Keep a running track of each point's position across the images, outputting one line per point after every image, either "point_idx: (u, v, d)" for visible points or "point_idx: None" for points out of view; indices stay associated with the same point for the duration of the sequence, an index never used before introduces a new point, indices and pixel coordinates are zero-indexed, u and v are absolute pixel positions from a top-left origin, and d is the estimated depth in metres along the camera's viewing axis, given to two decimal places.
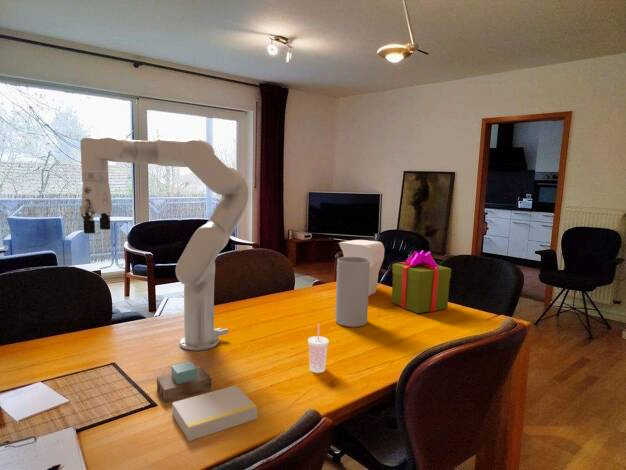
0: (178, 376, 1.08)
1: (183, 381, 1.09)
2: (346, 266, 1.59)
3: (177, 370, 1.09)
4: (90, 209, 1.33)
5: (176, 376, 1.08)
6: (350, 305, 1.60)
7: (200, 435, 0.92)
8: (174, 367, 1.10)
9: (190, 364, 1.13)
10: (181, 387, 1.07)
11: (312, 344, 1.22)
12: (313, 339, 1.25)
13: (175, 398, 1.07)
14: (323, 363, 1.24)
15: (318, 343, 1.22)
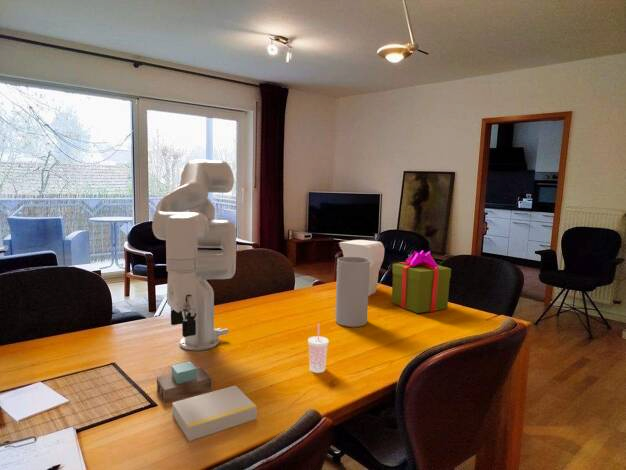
0: (178, 376, 1.08)
1: (183, 381, 1.09)
2: (346, 266, 1.59)
3: (177, 370, 1.09)
4: None
5: (176, 376, 1.08)
6: (350, 305, 1.60)
7: (200, 435, 0.92)
8: (174, 367, 1.10)
9: (190, 364, 1.13)
10: (181, 387, 1.07)
11: (312, 344, 1.22)
12: (313, 339, 1.25)
13: (175, 398, 1.07)
14: (323, 363, 1.24)
15: (318, 343, 1.22)
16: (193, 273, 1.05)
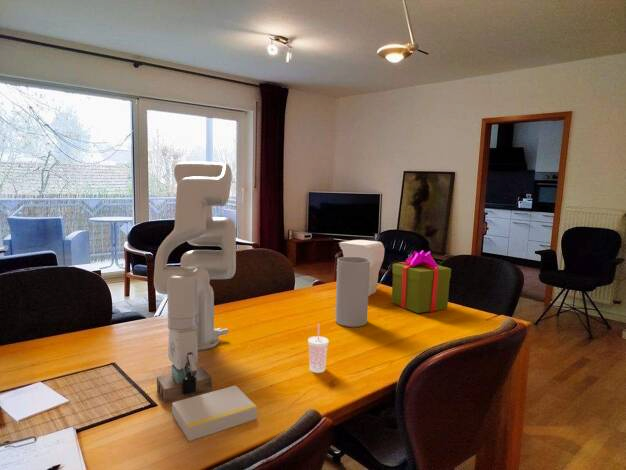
0: (178, 375, 1.07)
1: None
2: (346, 266, 1.59)
3: (177, 369, 1.09)
4: None
5: (176, 375, 1.08)
6: (350, 305, 1.60)
7: (200, 435, 0.92)
8: (174, 366, 1.10)
9: None
10: (181, 386, 1.07)
11: (312, 344, 1.22)
12: (313, 339, 1.25)
13: (175, 397, 1.06)
14: (323, 363, 1.24)
15: (318, 343, 1.22)
16: (194, 331, 1.07)
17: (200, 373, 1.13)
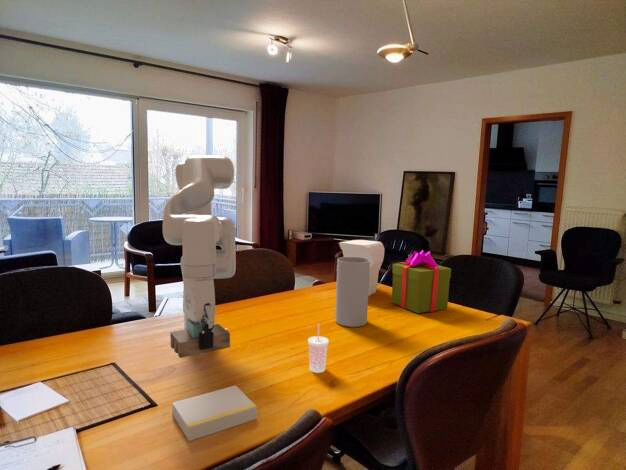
0: (194, 329, 0.99)
1: None
2: (346, 266, 1.59)
3: (193, 323, 1.00)
4: None
5: (192, 329, 0.99)
6: (350, 305, 1.60)
7: (200, 435, 0.92)
8: (189, 320, 1.01)
9: (206, 318, 1.04)
10: (197, 341, 0.98)
11: (312, 344, 1.22)
12: (313, 339, 1.25)
13: (191, 353, 0.98)
14: (323, 363, 1.24)
15: (318, 343, 1.22)
16: (212, 280, 0.98)
17: (217, 329, 1.04)
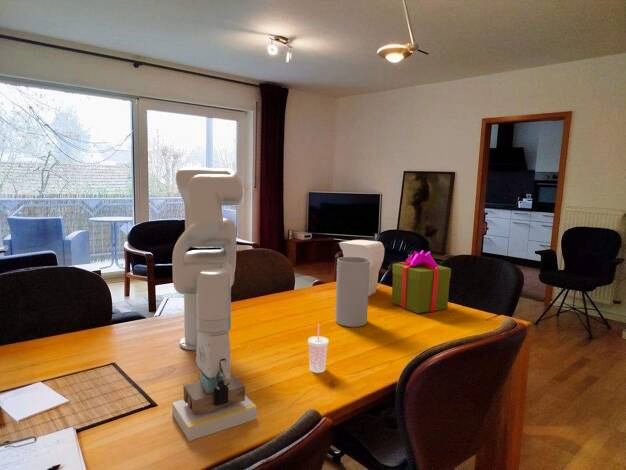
0: (209, 384, 0.95)
1: None
2: (346, 266, 1.59)
3: (207, 377, 0.96)
4: None
5: (206, 384, 0.96)
6: (350, 305, 1.60)
7: (200, 435, 0.92)
8: (203, 374, 0.98)
9: None
10: (212, 397, 0.95)
11: (312, 344, 1.22)
12: (313, 339, 1.25)
13: (205, 409, 0.94)
14: (323, 363, 1.24)
15: (318, 343, 1.22)
16: (227, 334, 0.94)
17: (231, 381, 1.01)
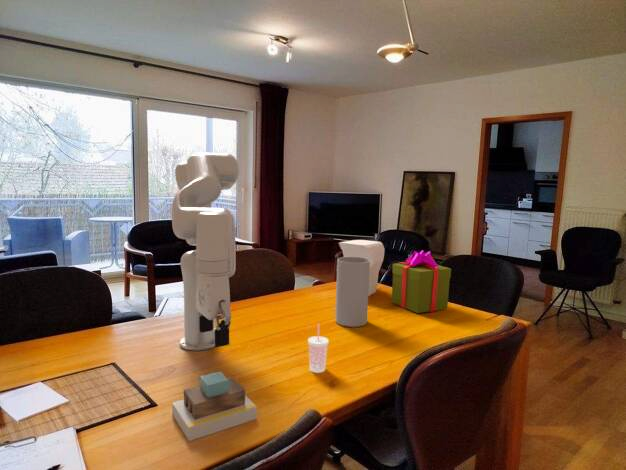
0: (209, 389, 0.95)
1: (214, 394, 0.96)
2: (346, 266, 1.59)
3: (207, 382, 0.96)
4: None
5: (206, 389, 0.96)
6: (350, 305, 1.60)
7: (200, 435, 0.92)
8: (203, 378, 0.98)
9: (220, 374, 1.00)
10: (212, 401, 0.95)
11: (312, 344, 1.22)
12: (313, 339, 1.25)
13: (206, 413, 0.94)
14: (323, 363, 1.24)
15: (318, 343, 1.22)
16: (227, 276, 0.94)
17: (232, 385, 1.01)
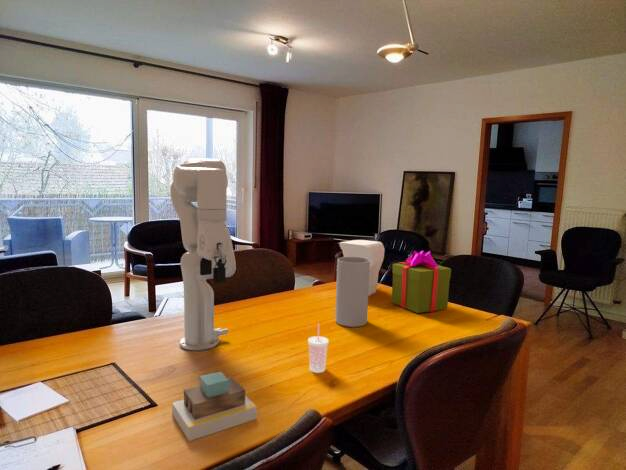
0: (209, 389, 0.95)
1: (214, 394, 0.96)
2: (346, 266, 1.59)
3: (207, 382, 0.96)
4: None
5: (206, 389, 0.96)
6: (350, 305, 1.60)
7: (200, 435, 0.92)
8: (203, 378, 0.98)
9: (220, 374, 1.00)
10: (212, 401, 0.95)
11: (312, 344, 1.22)
12: (313, 339, 1.25)
13: (206, 413, 0.94)
14: (323, 363, 1.24)
15: (318, 343, 1.22)
16: (223, 223, 1.11)
17: (232, 385, 1.01)
